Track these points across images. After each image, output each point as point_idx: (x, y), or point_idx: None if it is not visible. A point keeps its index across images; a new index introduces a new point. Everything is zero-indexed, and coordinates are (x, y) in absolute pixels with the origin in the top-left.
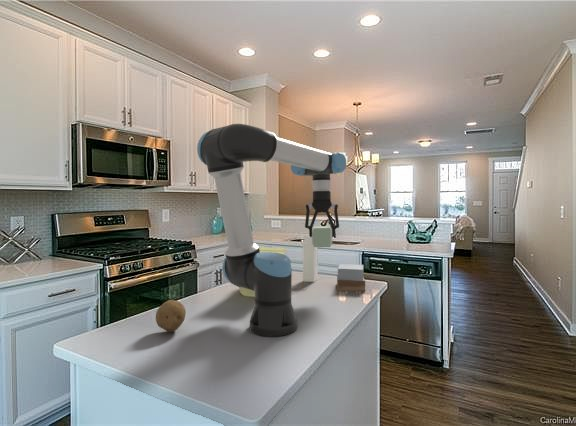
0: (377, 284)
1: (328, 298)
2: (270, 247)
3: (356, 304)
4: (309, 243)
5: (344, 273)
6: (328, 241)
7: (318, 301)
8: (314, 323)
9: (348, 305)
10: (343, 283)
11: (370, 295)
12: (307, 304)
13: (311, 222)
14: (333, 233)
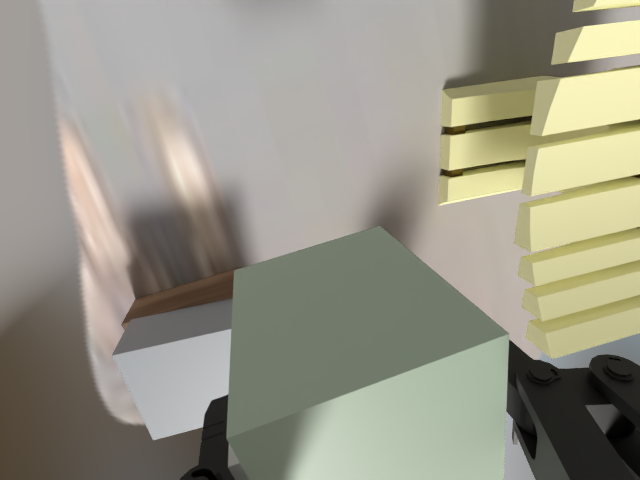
0: (125, 395)
1: (240, 150)
2: (623, 336)
3: (93, 101)
4: None
5: (211, 320)
6: (253, 293)
7: (265, 93)
8: None
9: (121, 74)
10: (216, 288)
11: (90, 252)
12: (295, 33)
13: (619, 464)
14: (220, 432)
